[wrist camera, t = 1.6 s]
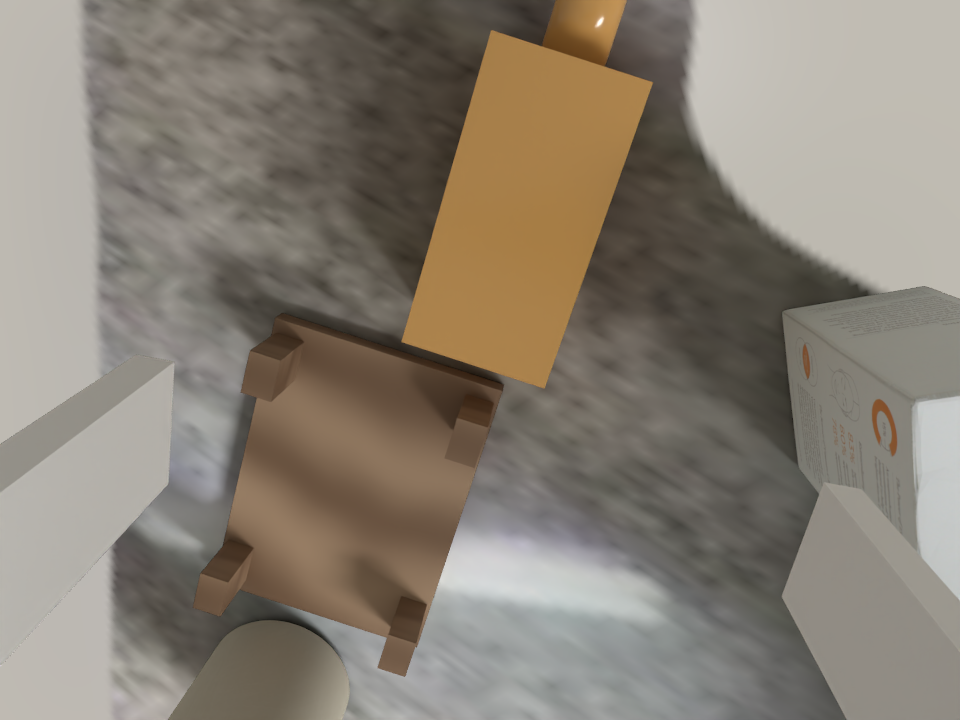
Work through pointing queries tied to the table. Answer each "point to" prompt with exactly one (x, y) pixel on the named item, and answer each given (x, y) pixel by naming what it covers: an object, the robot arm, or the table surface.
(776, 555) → the table surface
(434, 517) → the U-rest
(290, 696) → the travel mug
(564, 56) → the amber bottle
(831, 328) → the small box
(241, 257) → the table surface
